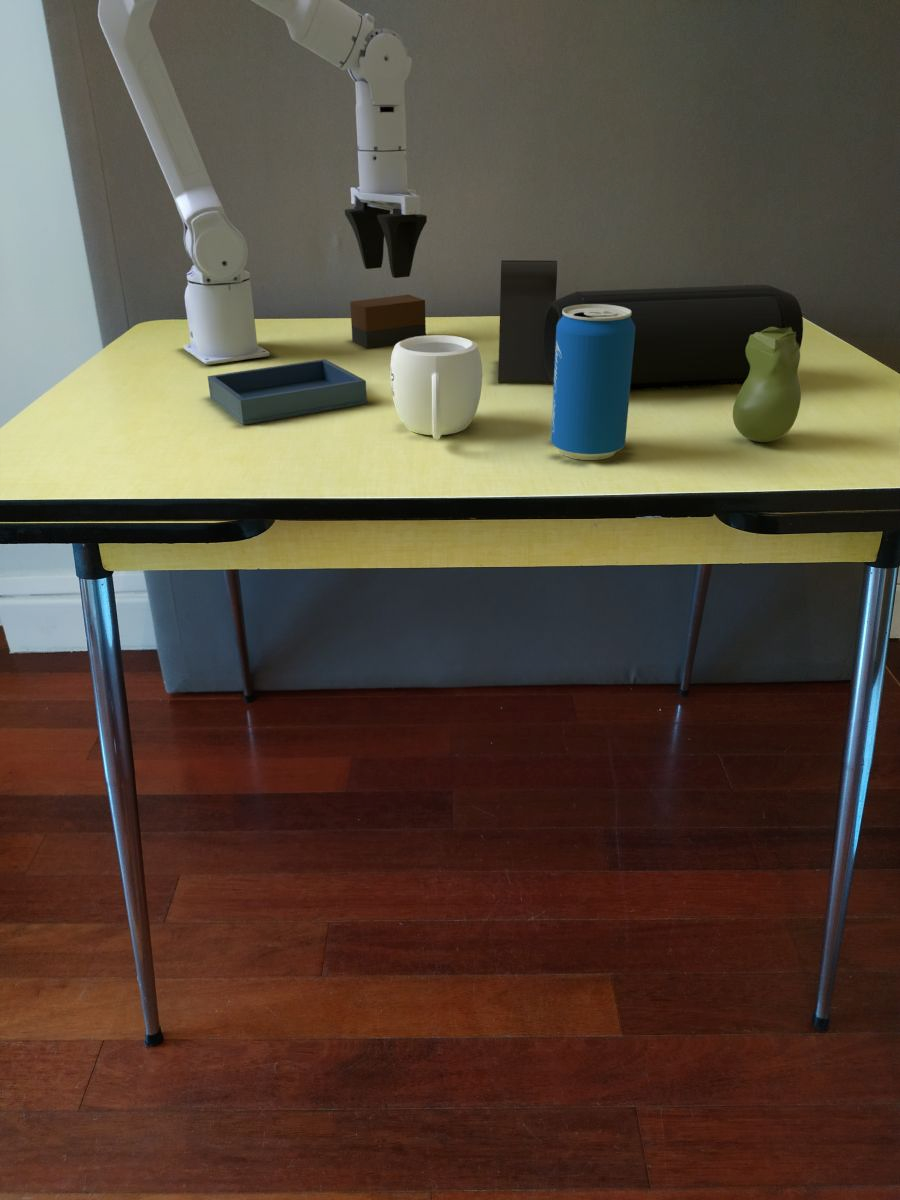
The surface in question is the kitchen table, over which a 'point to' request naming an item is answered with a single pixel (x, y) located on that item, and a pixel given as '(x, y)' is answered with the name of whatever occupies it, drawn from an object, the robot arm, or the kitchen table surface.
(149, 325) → the kitchen table surface
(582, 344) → the beverage can
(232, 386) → the tray
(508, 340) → the phone stand
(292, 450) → the kitchen table surface
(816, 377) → the kitchen table surface
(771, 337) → the pear
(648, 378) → the portable speaker
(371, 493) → the kitchen table surface
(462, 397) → the mug
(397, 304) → the eraser
